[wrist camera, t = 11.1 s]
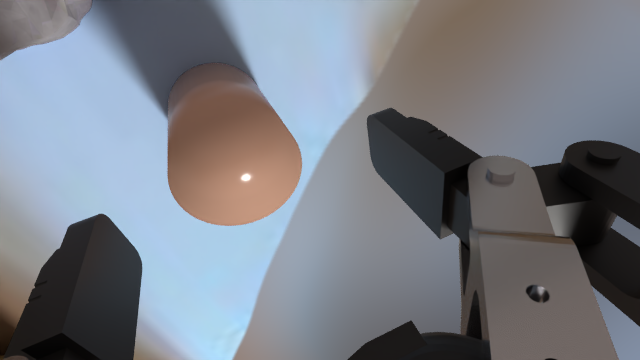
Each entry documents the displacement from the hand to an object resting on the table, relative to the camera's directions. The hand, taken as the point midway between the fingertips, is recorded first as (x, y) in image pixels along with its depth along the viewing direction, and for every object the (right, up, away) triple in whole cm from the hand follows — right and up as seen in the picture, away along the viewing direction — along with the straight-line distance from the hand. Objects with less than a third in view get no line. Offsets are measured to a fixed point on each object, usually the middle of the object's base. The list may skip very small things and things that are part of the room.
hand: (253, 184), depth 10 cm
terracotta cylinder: (-3, +3, +6) cm, 7 cm away
